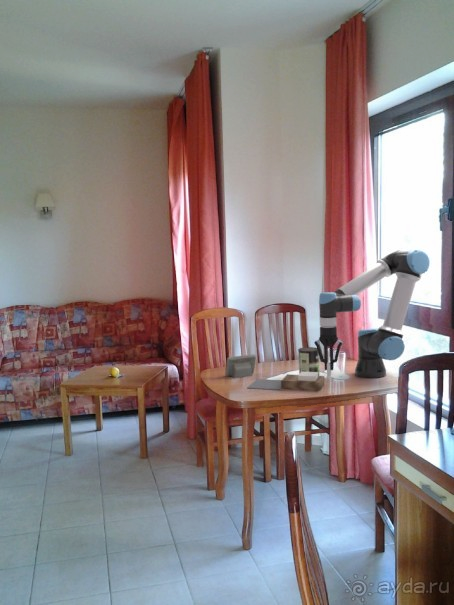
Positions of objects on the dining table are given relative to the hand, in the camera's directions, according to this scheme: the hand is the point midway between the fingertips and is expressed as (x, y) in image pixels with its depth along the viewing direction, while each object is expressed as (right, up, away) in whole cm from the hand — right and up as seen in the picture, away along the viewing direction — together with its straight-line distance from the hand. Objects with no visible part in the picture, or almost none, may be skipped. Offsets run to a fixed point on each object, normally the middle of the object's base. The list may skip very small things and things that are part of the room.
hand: (329, 376), depth 243 cm
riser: (-11, -5, +5) cm, 13 cm away
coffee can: (-6, -3, +23) cm, 24 cm away
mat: (-27, -5, +11) cm, 30 cm away
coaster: (-9, -1, +4) cm, 10 cm away
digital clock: (-40, -4, +32) cm, 51 cm away
